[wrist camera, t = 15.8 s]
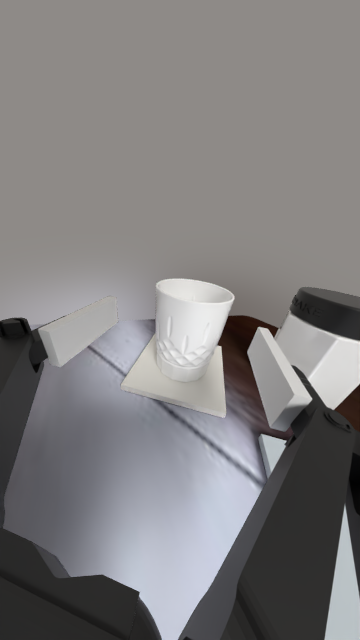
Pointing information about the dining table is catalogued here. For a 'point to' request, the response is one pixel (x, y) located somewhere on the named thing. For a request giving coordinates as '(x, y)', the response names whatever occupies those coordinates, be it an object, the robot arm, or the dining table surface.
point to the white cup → (189, 326)
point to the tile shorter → (178, 383)
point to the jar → (324, 341)
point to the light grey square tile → (345, 605)
